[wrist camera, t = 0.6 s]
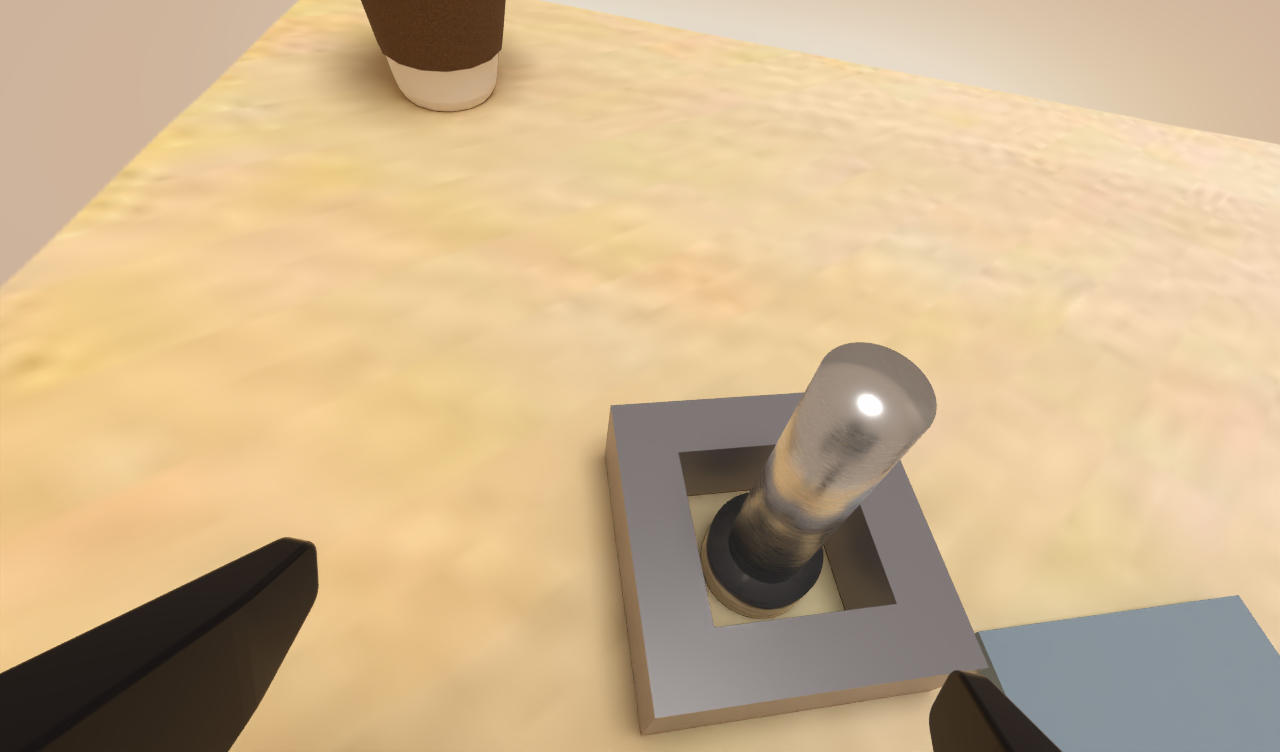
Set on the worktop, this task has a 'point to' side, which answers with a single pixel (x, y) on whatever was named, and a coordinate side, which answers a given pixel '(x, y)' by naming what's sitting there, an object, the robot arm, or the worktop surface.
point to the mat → (1144, 679)
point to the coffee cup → (440, 48)
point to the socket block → (776, 649)
